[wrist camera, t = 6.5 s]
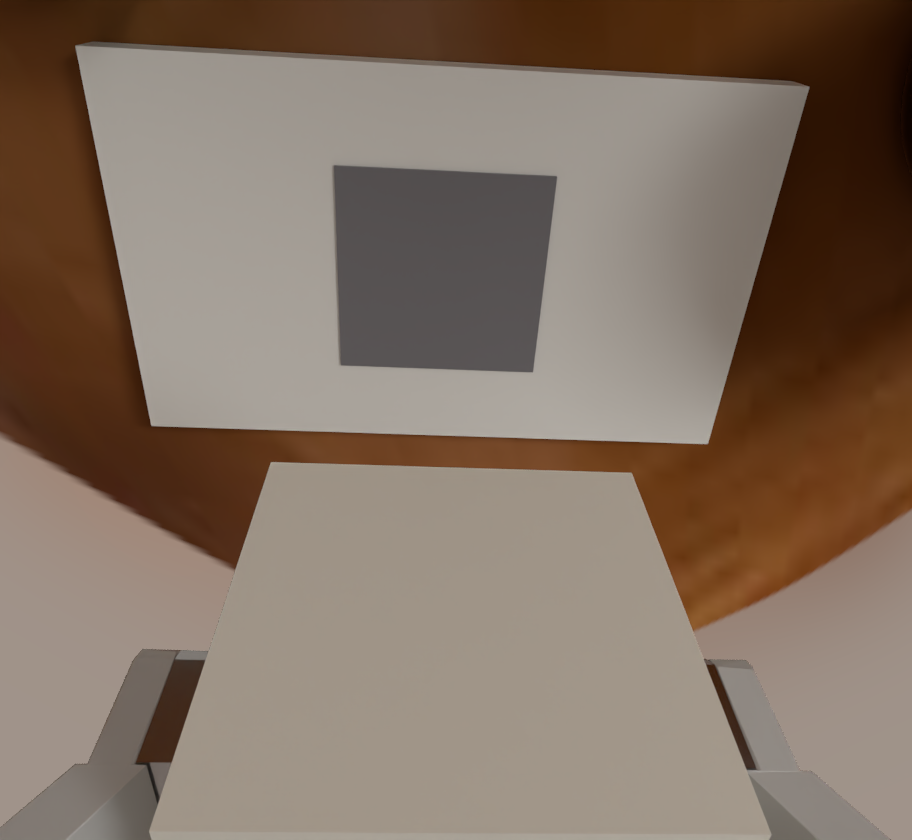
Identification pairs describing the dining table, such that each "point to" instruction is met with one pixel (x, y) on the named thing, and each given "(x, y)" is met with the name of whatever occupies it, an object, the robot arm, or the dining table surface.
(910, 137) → the supplement container
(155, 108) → the white flat board
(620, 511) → the off-white block
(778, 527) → the dining table surface
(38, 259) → the dining table surface
